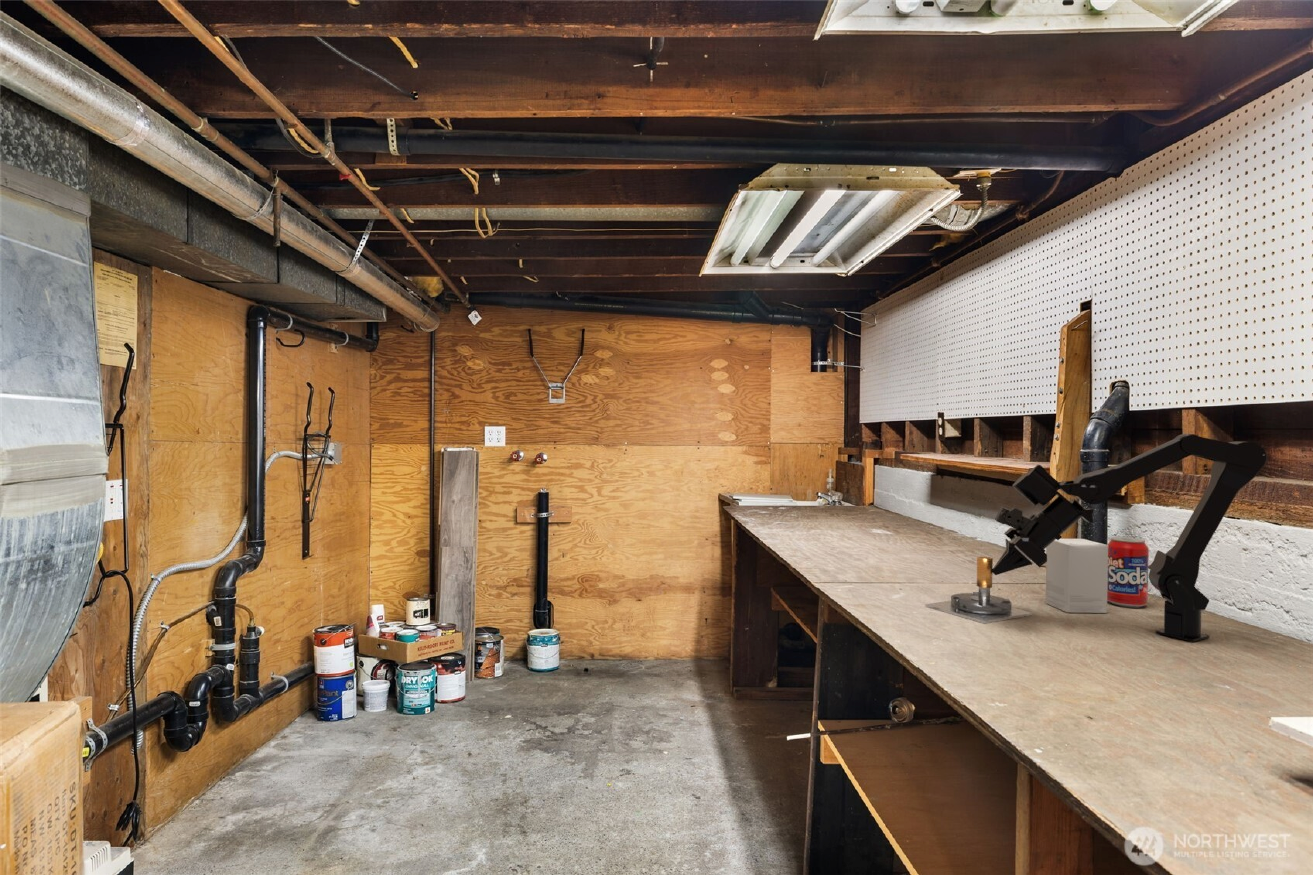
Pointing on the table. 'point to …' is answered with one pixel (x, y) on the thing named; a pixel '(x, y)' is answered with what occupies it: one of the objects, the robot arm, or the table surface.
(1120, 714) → the table surface
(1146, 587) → the soda can
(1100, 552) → the supplement box
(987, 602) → the metal joystick
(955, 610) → the flange plate
